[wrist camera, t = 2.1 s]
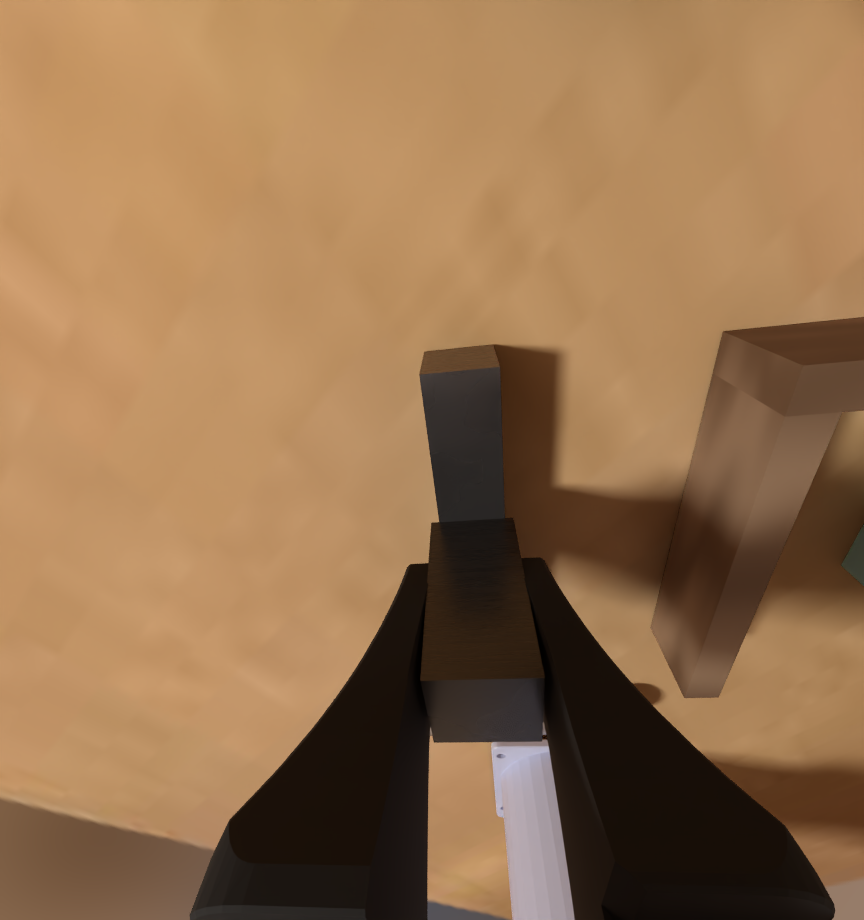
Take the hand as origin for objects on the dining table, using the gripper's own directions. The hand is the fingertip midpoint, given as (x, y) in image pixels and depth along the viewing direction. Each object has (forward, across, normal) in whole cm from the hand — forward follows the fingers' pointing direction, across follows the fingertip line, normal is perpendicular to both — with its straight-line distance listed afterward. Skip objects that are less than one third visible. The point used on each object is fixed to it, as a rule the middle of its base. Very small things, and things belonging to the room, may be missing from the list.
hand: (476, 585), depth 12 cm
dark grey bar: (+3, 0, 0) cm, 3 cm away
